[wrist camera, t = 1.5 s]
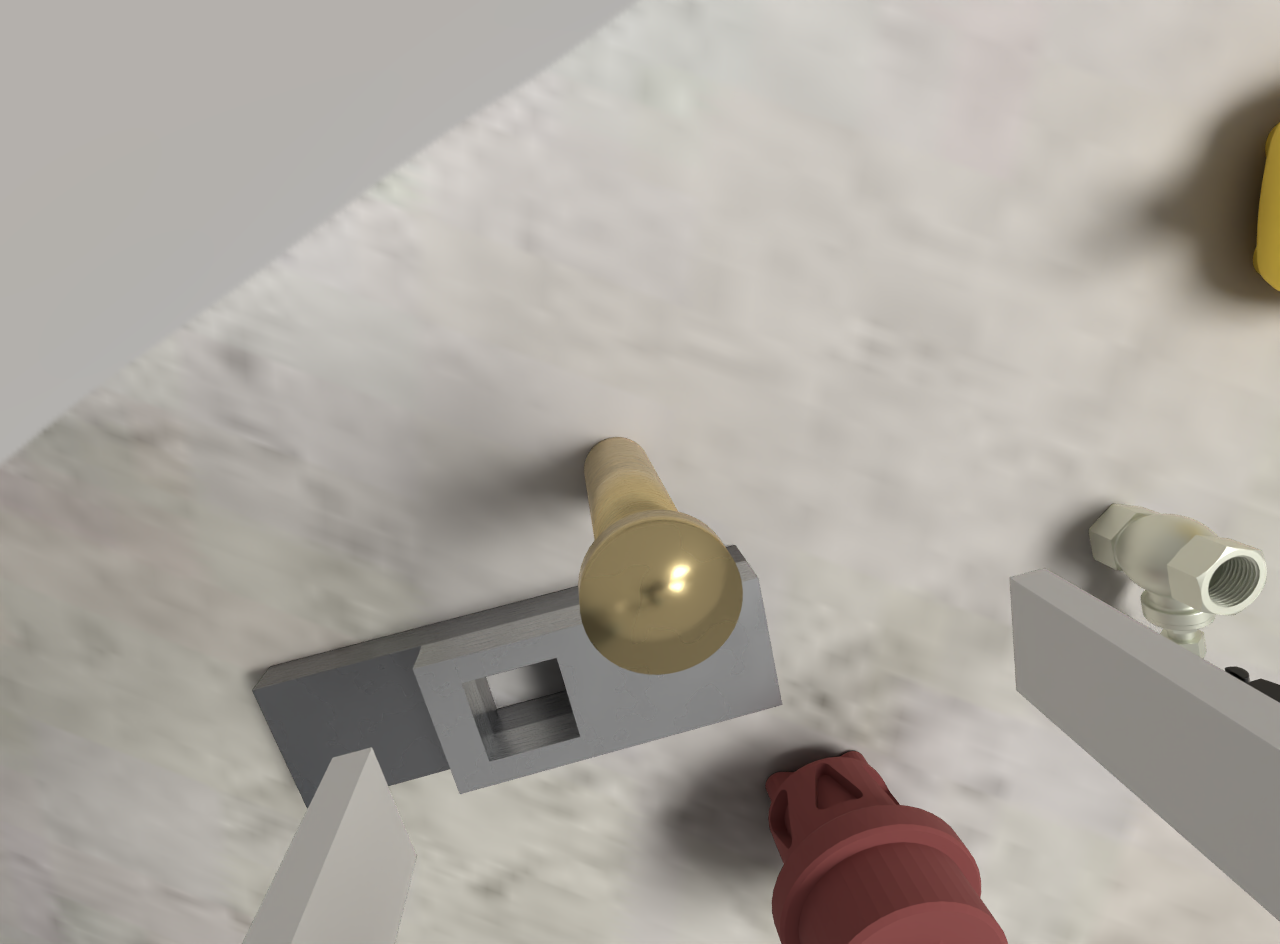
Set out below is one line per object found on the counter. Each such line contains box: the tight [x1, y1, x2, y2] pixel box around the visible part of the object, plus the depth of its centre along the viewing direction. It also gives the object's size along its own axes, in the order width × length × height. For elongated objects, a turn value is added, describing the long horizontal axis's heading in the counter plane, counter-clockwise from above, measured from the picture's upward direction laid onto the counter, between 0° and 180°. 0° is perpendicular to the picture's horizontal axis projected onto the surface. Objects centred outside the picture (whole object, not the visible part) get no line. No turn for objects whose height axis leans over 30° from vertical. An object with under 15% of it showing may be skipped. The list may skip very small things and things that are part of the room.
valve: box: [1089, 504, 1267, 683], centre depth 34 cm, size 7×7×12 cm
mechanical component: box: [765, 751, 1008, 944], centre depth 32 cm, size 12×10×10 cm
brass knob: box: [578, 437, 743, 675], centre depth 25 cm, size 5×5×14 cm
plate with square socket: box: [252, 545, 782, 808], centre depth 32 cm, size 24×7×4 cm, turn 103°
